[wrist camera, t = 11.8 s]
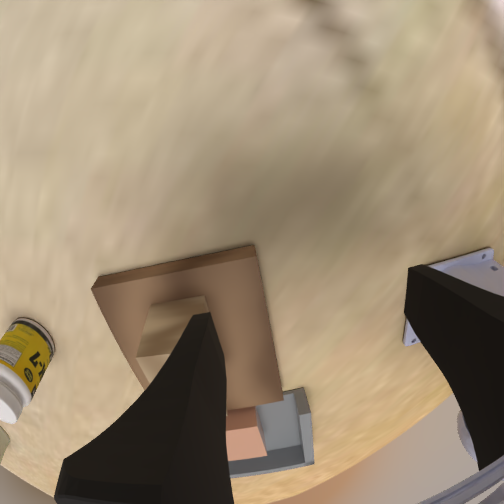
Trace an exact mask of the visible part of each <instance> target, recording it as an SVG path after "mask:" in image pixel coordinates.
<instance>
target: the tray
mask: <svg viewBox="0 0 504 504" xmlns="http://www.w3.org/2000/svg"><path fill="white" fill-rule="evenodd" d="M283 397H284V401H279V402H274V403H268V404H263V405H258V406H256V408H257V412H258V415H259V418H260V421H261V425H262V428H263V431H264V436H265V443H266V450H267V456H262V457H256V458H249V459H242V460H234V461H228V464H229V472H230V478H237V477H246V476H253V475H260V474H266V473H272V472H278V471H284V470H289V469H294V468H299V467H303V466H308V465H312V464H314V450H313V435H312V421H311V411H310V408H309V404H308V401H307V397H306V394H305V390H304V388H299V389H295V390H290V391H286V392H283Z"/></svg>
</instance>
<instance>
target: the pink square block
mask: <svg viewBox="0 0 504 504" xmlns="http://www.w3.org/2000/svg"><path fill="white" fill-rule="evenodd" d="M226 446H227V455H228V461H234V460H242V459H249V458H256V457H262V456H267V450H266V443H265V436H264V431H263V428H262V425H261V421H260V418H259V415H258V412H257V408H256V406H252V407H246V408H240V409H233V410H227V416H226Z"/></svg>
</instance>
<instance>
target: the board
mask: <svg viewBox="0 0 504 504" xmlns="http://www.w3.org/2000/svg"><path fill="white" fill-rule="evenodd" d="M91 290H92V292H93V295H94V297H95V299H96V301H97V303H98V305H99V307H100V309H101V312H102V314H103V316H104V318H105V320H106V322H107V324H108V326H109V328H110V330H111V332H112V334H113V335H114V337H115V339H116V341H117V343H118V345H119V347H120V349H121V350H122V352H123V354H124V356H125V358H126V359H127V361H128V363H129V365H130V367H131V368H132V370H133V372H134V373H135V375H136V377H137V379H138V380H139V382H140V384H141V385H142V387H143V388H144V390H146V388H147V387H148V386H149V385H150V383H149V381H148V380H147V378H146V376H145V374H144V372H143V371H142V369H141V367H140V365H139V363H138V361H137V359H136V355H137V351H138V347H139V344H140V340H141V336H142V333H143V329H144V326H145V323H146V319H147V316H148V312H149V309H150V306H151V304H157V303H163V302H169V301H175V300H181V299H186V298H192V297H198V296H203V295H204V296H205V299H206V302H207V306H208V309H209V312H211V316H212V319H213V322H214V325H215V328H216V331H217V334H218V338H219V341H220V344H221V347H222V350H223V353H224V358H225V367H226V377H227V410H233V409H240V408H246V407H252V406H258V405H263V404H268V403H274V402H279V401H284V397H283V392H282V387H281V381H280V376H279V371H278V365H277V360H276V355H275V349H274V344H273V339H272V333H271V328H270V323H269V317H268V312H267V307H266V302H265V296H264V291H263V286H262V281H261V275H260V270H259V265H258V259H257V255H256V251H255V246H254V245H252V246H247V247H242V248H237V249H232V250H227V251H222V252H217V253H212V254H207V255H203V256H198V257H193V258H188V259H183V260H178V261H173V262H168V263H163V264H158V265H154V266H149V267H144V268H139V269H134V270H129V271H125V272H120V273H115V274H110V275H105V276H100V277H98V278H97V280H96V282H95V283H94V285H93V286H92V288H91Z"/></svg>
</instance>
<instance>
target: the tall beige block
mask: <svg viewBox="0 0 504 504" xmlns="http://www.w3.org/2000/svg"><path fill="white" fill-rule="evenodd" d="M207 312H209V309H208V306H207V302H206V299H205V296H204V295H203V296H198V297H192V298H186V299H181V300H175V301H169V302H163V303H157V304H151V306H150V309H149V312H148V316H147V319H146V323H145V326H144V329H143V333H142V336H141V340H140V344H139V347H138V351H137V355H136V359H137V361H138V363H139V365H140V367H141V369H142V371H143V372H144V374H145V376H146V378H147V380H148V381H149V383H151V382H152V381H153V379H154V378H155V376H156V375H157V374H158V372H159V371H160V369H161V368H162V366H163V365H164V363H165V362H166V360H167V359H168V357H169V355H170V354H171V352H172V350H173V349H174V347H175V345H176V344H177V342H178V340H179V339H180V337H181V335H182V333H183V331H184V330H185V328H186V326H187V324H188V322H189V320H190V319H191V317H192V316H193V315H195V314H201V313H207ZM226 416H227V399H226Z"/></svg>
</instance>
